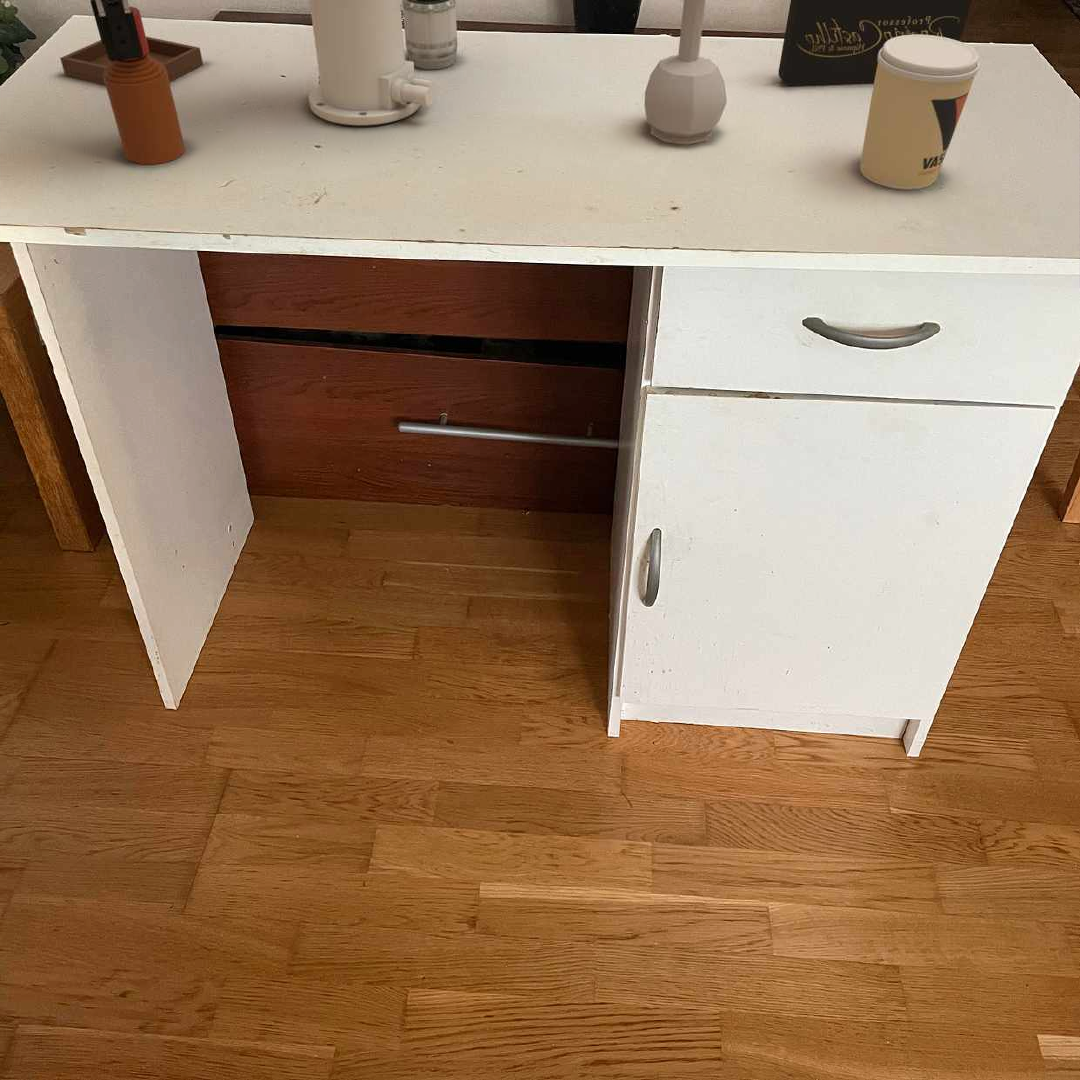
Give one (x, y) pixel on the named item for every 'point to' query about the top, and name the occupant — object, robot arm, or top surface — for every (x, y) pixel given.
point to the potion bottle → (685, 87)
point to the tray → (170, 54)
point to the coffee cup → (915, 108)
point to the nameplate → (857, 35)
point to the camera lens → (430, 32)
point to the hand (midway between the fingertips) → (122, 48)
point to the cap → (140, 31)
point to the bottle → (144, 110)
